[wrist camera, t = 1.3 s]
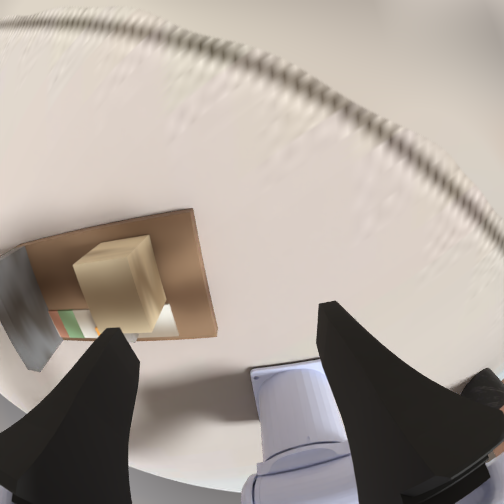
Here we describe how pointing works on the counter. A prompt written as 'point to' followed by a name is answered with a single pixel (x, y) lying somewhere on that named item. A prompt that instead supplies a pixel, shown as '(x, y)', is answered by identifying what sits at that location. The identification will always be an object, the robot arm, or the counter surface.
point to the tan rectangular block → (122, 285)
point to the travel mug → (487, 394)
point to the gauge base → (72, 299)
